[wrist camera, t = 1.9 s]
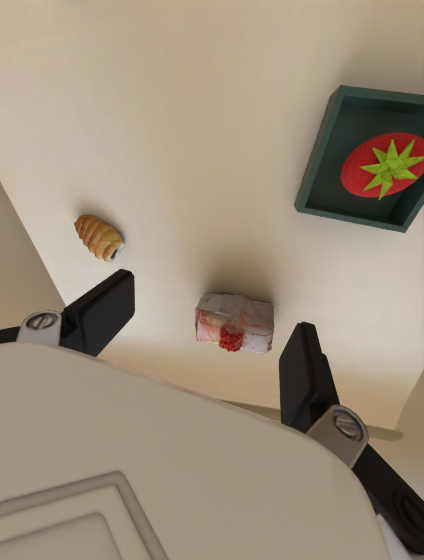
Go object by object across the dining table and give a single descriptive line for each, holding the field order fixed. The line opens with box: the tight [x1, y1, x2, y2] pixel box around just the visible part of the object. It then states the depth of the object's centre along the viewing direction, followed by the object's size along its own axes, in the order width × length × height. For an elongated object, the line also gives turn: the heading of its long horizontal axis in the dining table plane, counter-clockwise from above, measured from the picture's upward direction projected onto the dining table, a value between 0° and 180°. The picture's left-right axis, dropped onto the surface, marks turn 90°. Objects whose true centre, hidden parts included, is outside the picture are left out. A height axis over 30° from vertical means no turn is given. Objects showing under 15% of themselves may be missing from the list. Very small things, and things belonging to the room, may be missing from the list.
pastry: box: [74, 215, 124, 262], centre depth 40 cm, size 9×7×4 cm
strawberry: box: [341, 132, 424, 200], centre depth 23 cm, size 6×8×10 cm
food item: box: [195, 293, 274, 354], centre depth 38 cm, size 14×8×10 cm, turn 90°
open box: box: [294, 85, 424, 233], centre depth 25 cm, size 12×13×4 cm
